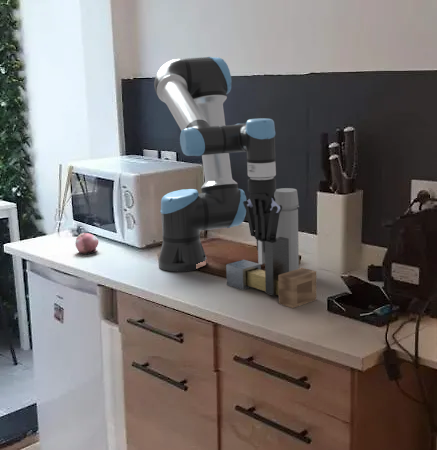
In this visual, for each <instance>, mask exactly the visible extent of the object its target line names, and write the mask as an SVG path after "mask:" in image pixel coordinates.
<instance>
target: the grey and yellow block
mask: <svg viewBox="0 0 437 450" xmlns="http://www.w3.org/2000/svg"><path fill="white" fill-rule="evenodd" d="M245 272H246V285H247V286H250V287H251V288H254V289H257V290H260V291H262V292H263V291H264V292H265V294H268V295H270V296H279V282H278V275H280V274H283V273H287V272H289V239H288V238H284V237H278V238H274V239H270V240H266V241H265V264H264V270H263V269H261V270H260V269H257V268H254V269H251V270H247V271H245Z"/></svg>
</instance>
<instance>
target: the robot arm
mask: <svg viewBox="0 0 437 450" xmlns="http://www.w3.org/2000/svg"><path fill="white" fill-rule="evenodd" d="M232 81H233V80H232V74H231V71H230V68H229V66H228V63H227V62H226V61H225V60H224V59H223V58H221V57H213V56H212V57H211V56H206V57H191V58H190V57H189V58H188V57H187V58H182V57H181V58H174V59H171V60H169V61H167V62H165V63H163V65H162V66H161V67H160V68H159V69H158V71H157V73H156V75H155V77H154V84H153V85H154V90H155V93H156V95H157V97H158V99H159V100H160V101H161V102H162V103H165V104H166V106H167V108H168V110H169V111H170V113H171V115H172V116H173V118H174V120H175V122H176V124H177V125H178V127H179V129H180V131H181V132H180V133H179V134H180V135H179V145H180V149H181V151H182V153H183V155H185V156H187V157H191V156H192V157H194V156H195V157H200V156H201V159H202V167H203V174H204V182H203V185H202V186H201V188H200V189H201V193H199V191H198V189H196V188H195V189H194V188H188V189H186V188H185V189H179V190H174V191H170V192H168V193H166V194H164V195H163V196H162V197H161V199H160V214H161V215H160V216H161V229H162V230H161V232H162V234H161V235H162V244H161V248H160V251H159V257H158V267H159V269H160V270H163V271H166V272H175V273H177V272H180V273H182V272H191V271H197V270H196V264H198V263H200V262H203V261H205V260H206V259H207V255H206V253H205V249H204V247H203V244H202V241H201V231H202V232H203V231H209V230H218V229H219V230H220V229H230V228H233V227H238V226H241V225H242V224H243V222H244V221H245V217H246V218H247V222H248V227H249V233H250V236H251V237H254V238H255V240H256V249H257V260H258V261H257V263H258V264H261V265H265V241H266V240H270V239H274V238H276V233H277V227H278V221H279V215H280V212H281V210H282V206H281V205H278V204H277V203H276V202H275V197H274V193H275V191H276V189H277V179H276V178H275V177H276V175H277V168H276V166H277V165H276V129H275V128H276V127H275V121H274V120H273V119H272V118H263V117H262V118H261V117H260V118H249V119H247V120H246V122H243V123H242V122H240V123H236V124H231V125H230V124H229V125H228V124H227V125H226V120H225V112H224V103H225V102H226V100H227V98H228V97H227V95H228V94H229V93H230V92H231V90H232ZM233 153H234V154H235V153H246V166H247V169H246V171H247V177H248V179H247V192H248V193H250V195H249V198H248V200H247V196H246V193H245V191H244V190H243V189H241V188H239V185H238V184H239V183H238V182H237V181H235V180H234V179H233V175H232V168H231V167H232V166H231V160H230V159H231V158H230V154H233ZM207 260H208V259H207Z"/></svg>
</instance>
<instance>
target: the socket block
mask: <svg viewBox="0 0 437 450" xmlns="http://www.w3.org/2000/svg"><path fill="white" fill-rule="evenodd" d="M278 282H279V295H278V304H279V305H282V306H284V307H288V308H290V309H294V308H297V307H299V306H303V305H306V304H308V303H311V302H314V301H317V300H318V299H317V271H316V270H312V269H309V268H305V267H300V268H299V269H296V270H293V271H290V272H287V273H283V274H280V275H278Z"/></svg>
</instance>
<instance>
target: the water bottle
mask: <svg viewBox="0 0 437 450" xmlns="http://www.w3.org/2000/svg"><path fill="white" fill-rule="evenodd" d="M274 197H275V202H276V203H277V204H278V205H281V206H282V210H281V212H280V215H279V221H278V227H277V233H276V238H278V237H284V238H288V239H289V272H290V271H293V270H296V269H300V268H299V267H300V266H299V265H300V263H299V262H300V261H299V259H300V257H299V208H300V205H299V204H300V203H299V197H298V190H297V189H296V188H292V187H291V188H290V187H289V188H288V187H285V188H283V187H282V188H276V191H275V192H274Z"/></svg>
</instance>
